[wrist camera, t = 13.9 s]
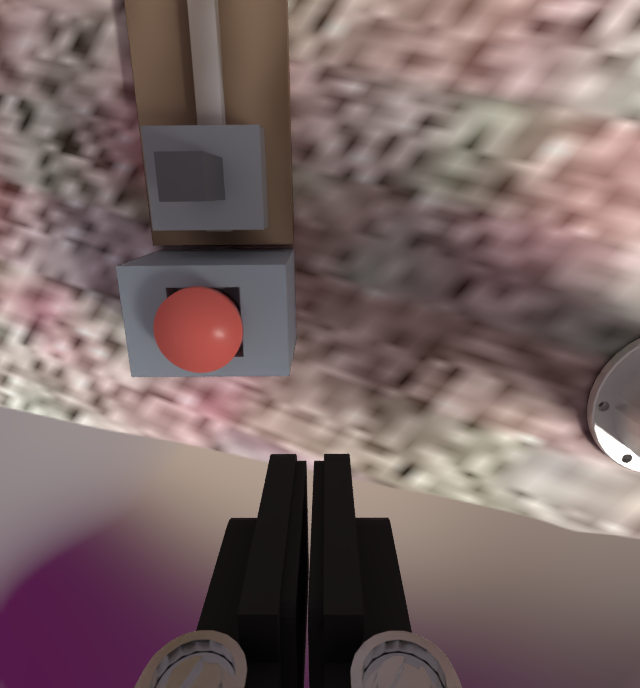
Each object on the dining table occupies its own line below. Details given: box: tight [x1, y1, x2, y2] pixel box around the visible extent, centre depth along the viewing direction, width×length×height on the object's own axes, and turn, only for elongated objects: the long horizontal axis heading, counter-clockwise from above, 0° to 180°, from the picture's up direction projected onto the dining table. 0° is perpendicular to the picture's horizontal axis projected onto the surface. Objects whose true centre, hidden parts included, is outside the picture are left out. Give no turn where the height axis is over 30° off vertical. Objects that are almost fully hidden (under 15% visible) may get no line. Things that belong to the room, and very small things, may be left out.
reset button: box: [153, 286, 243, 373], centre depth 29 cm, size 5×5×4 cm
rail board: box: [124, 0, 294, 245], centre depth 29 cm, size 10×24×4 cm, turn 1°
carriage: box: [141, 125, 268, 231], centre depth 28 cm, size 7×6×8 cm
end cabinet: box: [116, 249, 297, 377], centre depth 32 cm, size 10×7×8 cm
